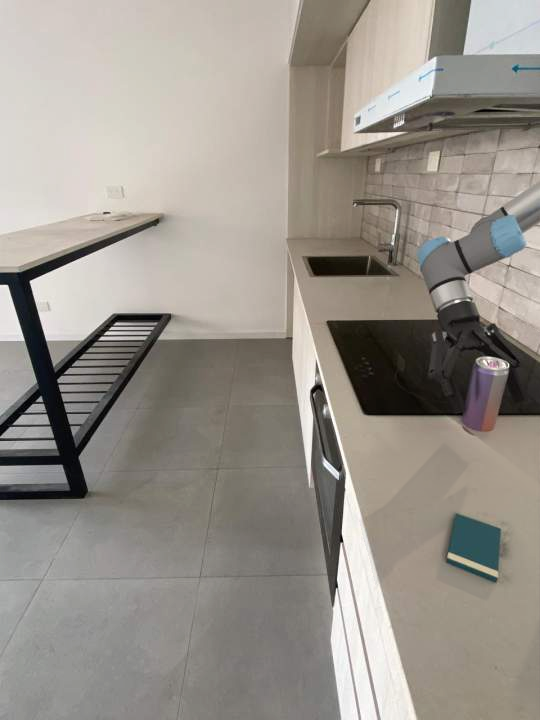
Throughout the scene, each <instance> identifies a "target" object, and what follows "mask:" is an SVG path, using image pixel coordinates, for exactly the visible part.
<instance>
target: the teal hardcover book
mask: <svg viewBox="0 0 540 720" xmlns="http://www.w3.org/2000/svg"><path fill="white" fill-rule="evenodd" d="M501 534H502V529H501V527H498V526H494V525H492V524H489V523H486V522H483V521H481V520H478V519H475V518H471V517H469V516H466V515H463V514H460V513H456V512H455V517H454V521H453V525H452V531H451V537H450V542H449V546H448V551H447V556H446V561H445V562H446V564H448V565H451V566H453V567H456V568H459V569H460V570H463V571H465V572H466V571H467V572H469V573H471V574H473V575H476V576H478V577H481V578H483V579H485V580H488V581H489V582H492V583H496V584H497V582H498V579H499V565H500V564H499V563H500V549H501Z"/></svg>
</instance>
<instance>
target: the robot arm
mask: <svg viewBox="0 0 540 720" xmlns="http://www.w3.org/2000/svg"><path fill="white" fill-rule="evenodd" d="M539 224H540V180H539V181H538V182H536V183H534V184H532V185H531V186H530V187H529V188H527V189H525V190H524V191H523V192H521V193H520V194H517V196H515V197H514V198H512V199H510V200H509V201H508V202H506V203H505V204H504V205H502V206H501V207H500V208H498V209H496V210H494V211H493V212H492V213H491V214H489V215H487V216H484V217H482V218H480V219H479V220H477V221H476V222H475V223H474V225H473V226H472V227H471V229H470V232H469V234H467V235H465V236H463V237H461V238H459V239H456V240H454V241H451V239H450V238H449V237H447V236H438V237H436V238H432V239H429V240H427V241H426V242H424V243H423V244H421V246H420V247H419V248H418V249H417V253H416V259H417V261H418V265H419V271H420V273H421V275H422V278H423V280H424V283H425V286H426V288H427V291H428V294H429V297H430V300H431V303H432V306H433V309H434V311H435V313H437V314H436V318H437V320H438V323H439V326H440V329H437V330H435V331H434V332H433V333H431V334H430V341H431V351H430V359H429V368H428V374H427V378H429V379H430V380H435V382H436V383H440V385H441V389H442V392H443V395H444V396H445V397H448V399H449V402H450V405H451V409H452V411H453V415H454V414H455V415H457V414H460V413H463V411H465V410H466V408H465V401H464V399H463V397H462V393H461V391H460V388H459V385H458V382H457V379H456V376H452V377H451V375H452V372H453V369H454V368H455V364H456V362H457V359H458V357H459V354H460V352H464V351H465V352H466V351H474V350H475V351H477V352H481V353H482V354H484V355H485V357H495V358H499V359H502V360H504V361H506V362H507V363H508V364H509V373H508V377H507V381H506V385H507V388H508V391H509V394H510V396H511V398H512V401H513V403H514V405H517V404H521V403H524V402H528V401H529V398H528V396H527V393H526V391H525V388H524V386H523V384H524V380H523V378H522V375H521V372H520V370H519V368H520V367H521V366H522V365H524V364H525V363H526V359H525V358H524V357H523V356H522V355H521V354H520V353H519V351H518V350H517V349H516V348H515V347H514V346H513V345H512V344H511V343H510V342H509V341H508V339H507V338H506V337H505V336H504V335H503V334H502V333H501V331H500V329H499V328H498V326H497V324H496V323H495V322H494V323H491V324H489V325H487V326H483V325H482V324H481V322H480V319H481V315H480V312H479V310H478V307H477V305H476V303H475V302H474V296H473V294H472V292H471V289H470V287H469V284H468V282H467V279H466V276H468V275H470V274H473V273H474V272H476V271H479V270H481V269H483V268H485V267H488V266H490V265H492V264H495V263H497V262H500V261H502V260H504V259H508V258H511V257H512V256H513V255H515V254H517V253H519V252H521V251H523V250H524V249H525V248H526V246H527V241H526V239H525V236H524V233H526V232H527V231H529V230H531V229H532V228H534V227H536V226H538V225H539ZM445 341H446V342H448V343H449V345H448V347H447V350H446V355H445V358H444V360H443V356H444V347H445Z"/></svg>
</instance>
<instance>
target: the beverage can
mask: <svg viewBox="0 0 540 720" xmlns="http://www.w3.org/2000/svg"><path fill="white" fill-rule="evenodd" d="M508 373H509V364H508V363H507V362H506V361H504V360H502V359H499V358H495V357H488V356H479V357H477V358H476V359H475V360H474V363H473V365H472V370H471V374H470V378H469V382H468V388H467V393H466V396H465V401H464V405H465V408H466V410H465V411H463V412H462V415H461V423H462V424H463V425H464V426H463V425H461V428H462V429H463V431H464V432H466V433H467V434H469V435H472V436H473V437H475V436H476V435H475V434H474V433H473V432H471V431H476V432H481V433H487V432H492V431H493V430H494V429H495V427H496V424H497V423H496V422H497V419H498V416H499V411H500V407H501V405H502V400H503V396H504V393H505V388H506V385H507V383H506V381H507V377H508ZM465 427H467V428H468V429H470V430H471V431H470V430H468V429H467V428H465Z"/></svg>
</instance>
